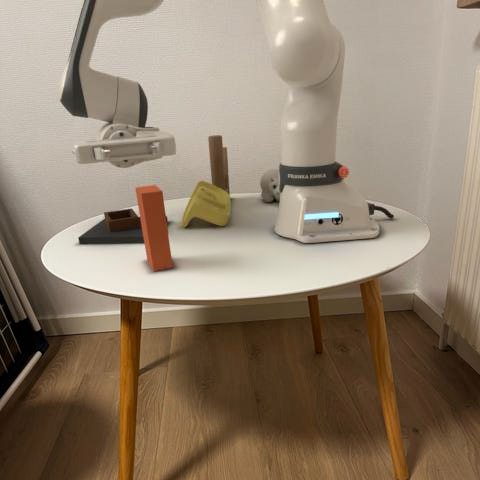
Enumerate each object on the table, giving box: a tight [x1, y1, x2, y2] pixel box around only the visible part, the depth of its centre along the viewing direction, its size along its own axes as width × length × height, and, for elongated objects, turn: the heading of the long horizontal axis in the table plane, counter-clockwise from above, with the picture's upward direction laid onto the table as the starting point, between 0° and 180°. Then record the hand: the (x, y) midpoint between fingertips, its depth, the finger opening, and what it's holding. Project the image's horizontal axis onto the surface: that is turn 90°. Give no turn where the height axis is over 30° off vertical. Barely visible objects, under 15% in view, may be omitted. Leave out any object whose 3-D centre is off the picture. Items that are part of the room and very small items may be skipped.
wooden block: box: [207, 134, 231, 196], centre depth 117 cm, size 4×11×18 cm, turn 175°
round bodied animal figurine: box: [259, 168, 280, 203], centre depth 117 cm, size 7×12×8 cm, turn 5°
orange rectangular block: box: [134, 184, 174, 272], centre depth 78 cm, size 6×4×14 cm, turn 22°
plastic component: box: [179, 180, 232, 228], centre depth 108 cm, size 20×7×10 cm
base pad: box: [77, 207, 169, 245], centre depth 100 cm, size 16×16×4 cm
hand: (131, 152), depth 83 cm, fingers open, 8 cm apart
